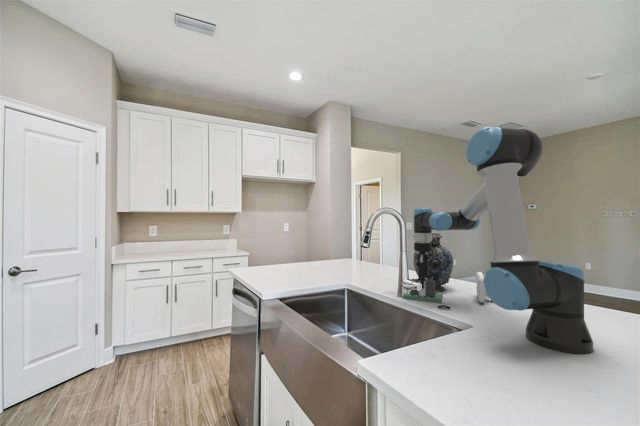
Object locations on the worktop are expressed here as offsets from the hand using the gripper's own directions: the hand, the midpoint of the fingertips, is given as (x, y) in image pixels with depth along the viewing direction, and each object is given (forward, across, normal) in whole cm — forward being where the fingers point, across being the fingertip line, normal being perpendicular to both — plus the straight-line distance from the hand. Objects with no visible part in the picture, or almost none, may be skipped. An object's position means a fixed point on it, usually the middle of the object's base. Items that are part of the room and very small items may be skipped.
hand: (422, 293), depth 129 cm
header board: (+2, 0, 0) cm, 2 cm away
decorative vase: (+2, -19, +3) cm, 19 cm away
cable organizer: (+2, -7, +27) cm, 28 cm away
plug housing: (0, 0, 0) cm, 0 cm away
